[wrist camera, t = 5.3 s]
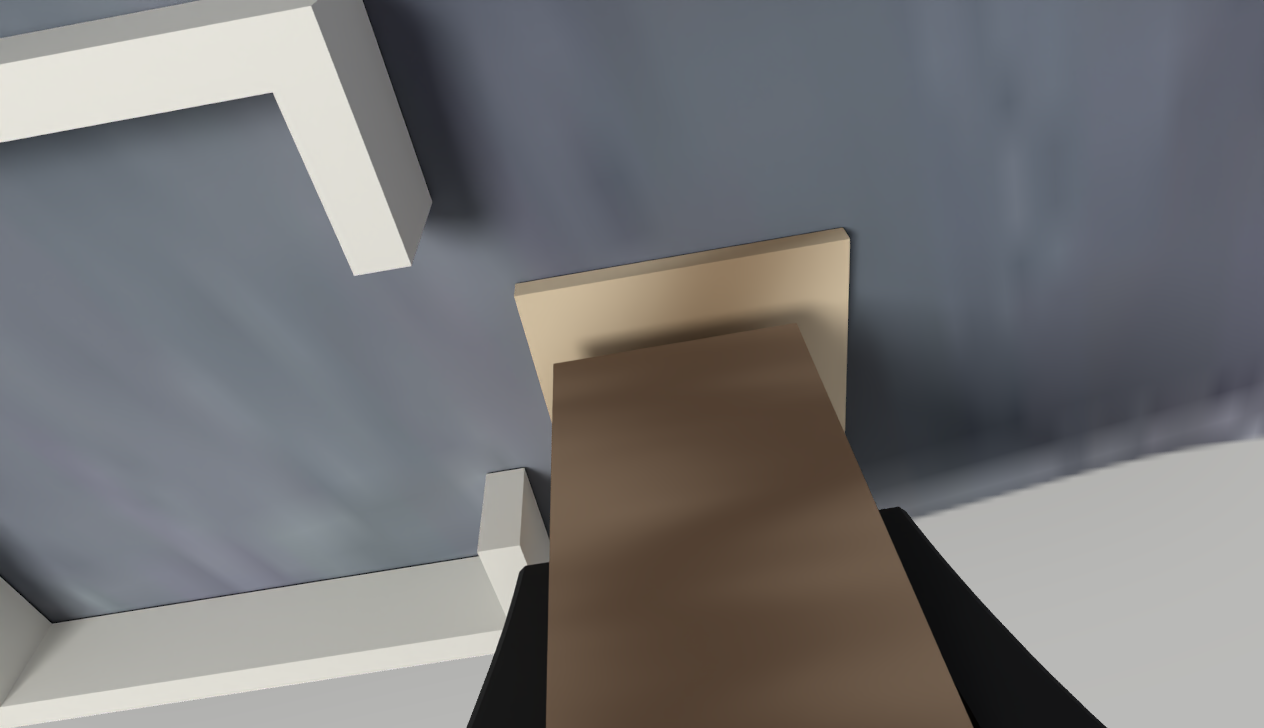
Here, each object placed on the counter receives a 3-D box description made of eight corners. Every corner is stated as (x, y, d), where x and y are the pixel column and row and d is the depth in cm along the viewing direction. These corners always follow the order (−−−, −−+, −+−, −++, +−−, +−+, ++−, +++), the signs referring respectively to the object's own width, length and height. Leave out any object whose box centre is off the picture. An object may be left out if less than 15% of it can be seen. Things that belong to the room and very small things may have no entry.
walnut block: (796, 323, 12) (992, 773, 7) (800, 490, 15) (946, 922, 9) (553, 363, 12) (544, 838, 7) (597, 522, 15) (618, 966, 9)
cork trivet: (842, 227, 13) (849, 238, 12) (838, 461, 16) (843, 475, 16) (515, 283, 13) (514, 296, 12) (580, 502, 16) (580, 517, 16)
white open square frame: (352, -29, 10) (310, 5, 8) (558, 566, 17) (558, 644, 16) (-543, 141, 10) (-746, 205, 9) (40, 647, 18) (-11, 731, 16)
